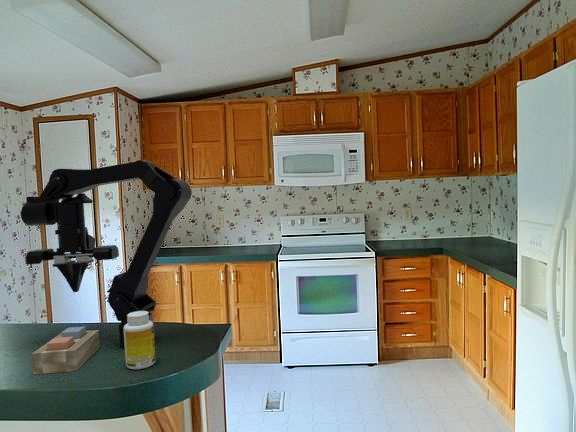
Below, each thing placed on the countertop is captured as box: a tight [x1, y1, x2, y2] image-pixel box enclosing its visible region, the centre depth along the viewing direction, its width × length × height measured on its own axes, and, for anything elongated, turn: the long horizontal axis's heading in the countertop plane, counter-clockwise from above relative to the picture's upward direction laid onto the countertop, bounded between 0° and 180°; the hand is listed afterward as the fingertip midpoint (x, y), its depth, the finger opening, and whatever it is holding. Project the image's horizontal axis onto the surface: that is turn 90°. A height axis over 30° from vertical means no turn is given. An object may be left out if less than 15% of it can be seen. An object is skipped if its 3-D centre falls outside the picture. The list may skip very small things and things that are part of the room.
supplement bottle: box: [124, 311, 157, 370], centre depth 84 cm, size 6×6×10 cm
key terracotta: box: [46, 336, 74, 351], centre depth 86 cm, size 4×4×3 cm
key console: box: [31, 329, 101, 375], centre depth 89 cm, size 8×13×4 cm, turn 5°
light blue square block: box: [60, 325, 87, 339], centre depth 92 cm, size 4×4×3 cm
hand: (76, 291), depth 99 cm, fingers closed
